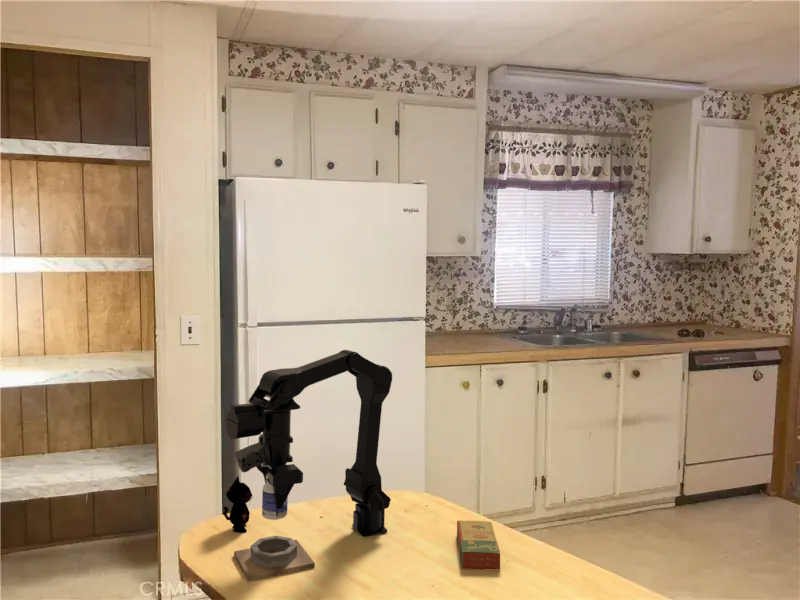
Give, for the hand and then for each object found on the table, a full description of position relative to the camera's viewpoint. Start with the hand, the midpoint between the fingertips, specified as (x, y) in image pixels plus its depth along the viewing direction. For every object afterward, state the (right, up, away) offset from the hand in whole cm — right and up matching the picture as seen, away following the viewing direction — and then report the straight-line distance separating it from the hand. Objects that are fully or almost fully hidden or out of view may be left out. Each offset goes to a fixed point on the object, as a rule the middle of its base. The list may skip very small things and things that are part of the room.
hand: (275, 503), depth 143 cm
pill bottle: (0, -3, 0) cm, 3 cm away
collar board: (0, -12, 0) cm, 12 cm away
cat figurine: (-12, -11, +16) cm, 22 cm away
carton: (+44, -13, +7) cm, 46 cm away
